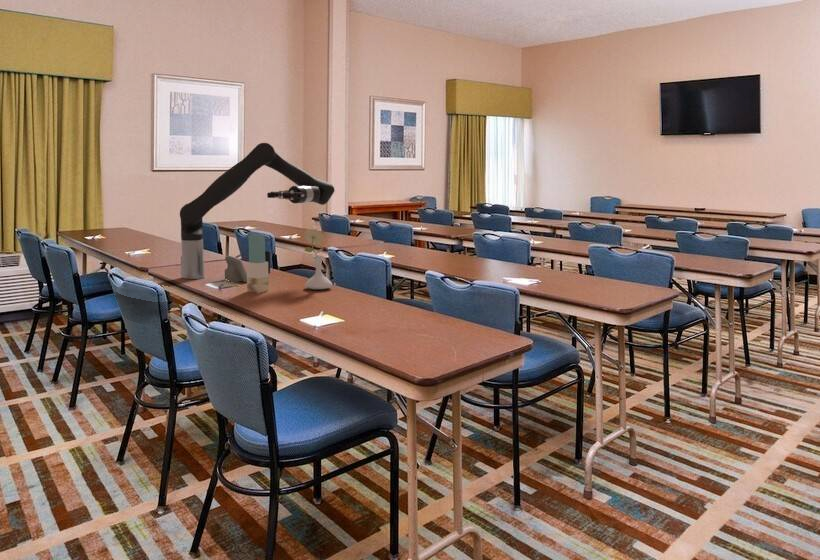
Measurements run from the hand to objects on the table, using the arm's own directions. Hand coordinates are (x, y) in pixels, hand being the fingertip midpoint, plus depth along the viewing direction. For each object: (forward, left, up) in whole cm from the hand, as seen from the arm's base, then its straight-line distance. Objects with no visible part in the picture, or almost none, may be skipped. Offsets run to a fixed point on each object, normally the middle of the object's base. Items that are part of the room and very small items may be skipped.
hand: (275, 195), depth 272 cm
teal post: (+2, -14, -26) cm, 30 cm away
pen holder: (-28, +20, -38) cm, 51 cm away
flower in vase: (+18, +4, -38) cm, 42 cm away
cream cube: (+2, -14, -32) cm, 35 cm away
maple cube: (+2, -14, -38) cm, 41 cm away
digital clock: (-23, 0, -38) cm, 45 cm away
